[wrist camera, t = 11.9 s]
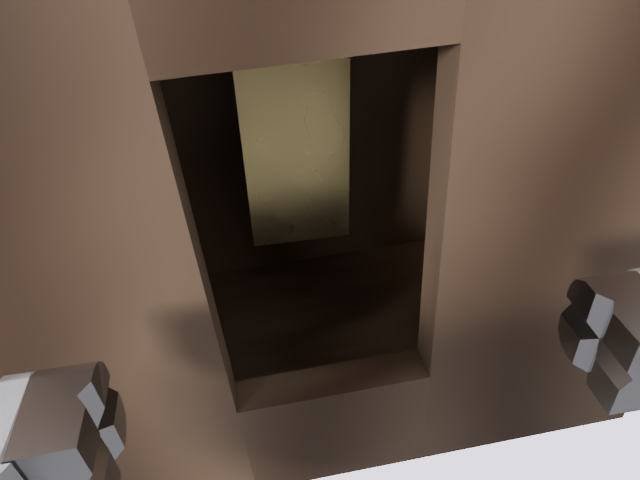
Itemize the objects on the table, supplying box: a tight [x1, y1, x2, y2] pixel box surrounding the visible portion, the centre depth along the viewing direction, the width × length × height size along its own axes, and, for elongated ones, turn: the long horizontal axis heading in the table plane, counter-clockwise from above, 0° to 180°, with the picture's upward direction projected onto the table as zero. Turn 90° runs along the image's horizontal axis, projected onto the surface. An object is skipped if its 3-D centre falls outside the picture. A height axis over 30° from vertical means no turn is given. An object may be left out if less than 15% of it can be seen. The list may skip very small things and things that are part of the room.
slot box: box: [0, 0, 640, 480], centre depth 15 cm, size 18×16×10 cm
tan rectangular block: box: [233, 57, 350, 246], centre depth 17 cm, size 3×6×4 cm, turn 2°
